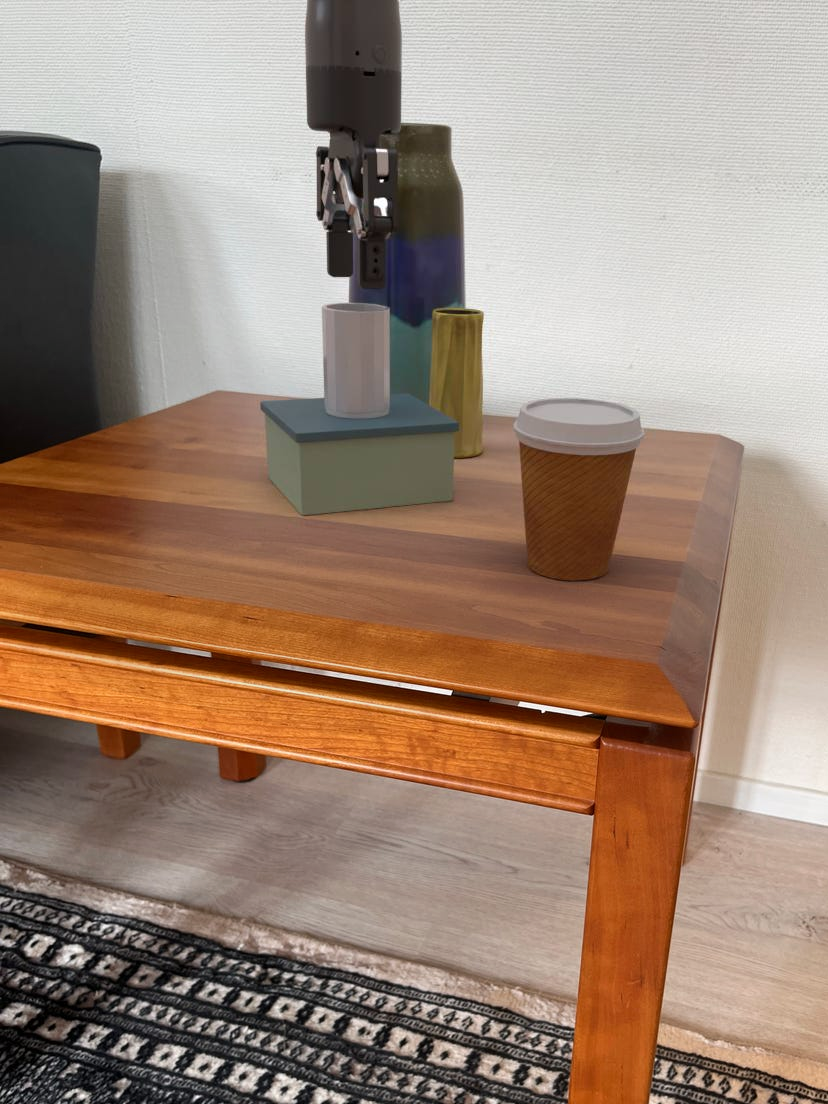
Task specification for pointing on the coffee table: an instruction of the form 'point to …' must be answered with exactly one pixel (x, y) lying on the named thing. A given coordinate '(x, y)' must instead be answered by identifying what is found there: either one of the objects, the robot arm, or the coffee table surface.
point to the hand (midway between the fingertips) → (355, 282)
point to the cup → (356, 360)
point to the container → (359, 455)
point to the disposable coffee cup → (574, 482)
